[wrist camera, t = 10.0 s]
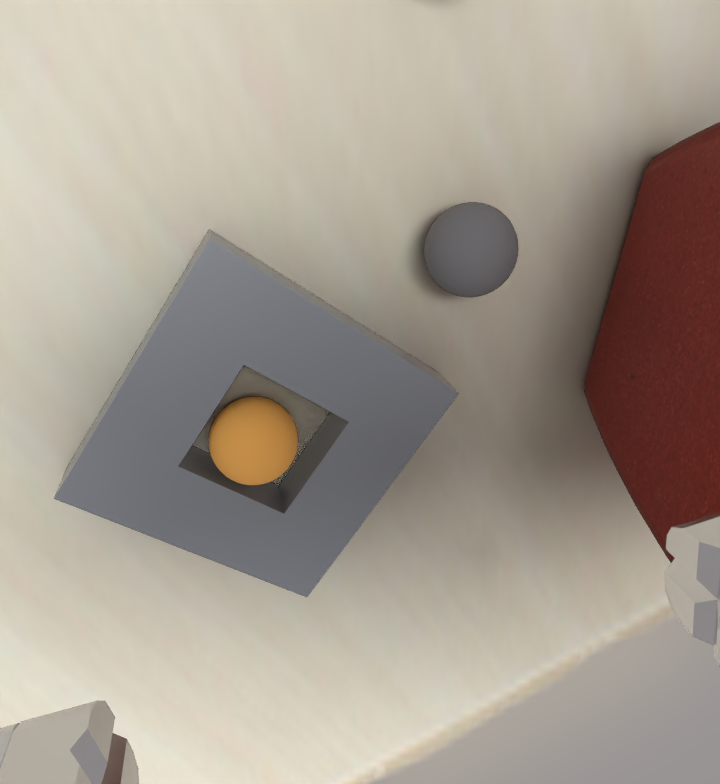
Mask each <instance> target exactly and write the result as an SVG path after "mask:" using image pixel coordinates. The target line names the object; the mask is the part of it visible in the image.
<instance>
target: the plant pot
mask: <svg viewBox="0 0 720 784" xmlns="http://www.w3.org/2000/svg"><path fill="white" fill-rule="evenodd" d="M584 392H585V395H586V398H587V401H588V404H589V407H590V410H591V413H592V415H593V418H594V420H595V422H596V425H597V427H598V430H599V432H600V434H601V437H602V439H603V442H604V444H605V446H606V448H607V450H608V452H609V455H610V457H611V459H612V461H613V463H614V465H615V467H616V469H617V471H618V473H619V475H620V477H621V479H622V481H623V483H624V485H625V486H626V488H627V490H628V492H629V494H630V496H631V498H632V499H633V501H634V503H635V505H636V507H637V509H638V510H639V512H640V514H641V515H642V517H643V519H644V520H645V522H646V523H647V525H648V527H649V528H650V530H651V532H652V533H653V535H654V537H655V538H656V540H657V542H658V543H659V545H660V546H661V548H662V550H663V551H664V553H665V555H666V556H667V558H668V559H669V561H670V562H671V563H672V561H673V560H674V559H675V558H674V557H673V556H672V555H671V554H670V553H669V552H668V551H667V550H666V540H667V534H668V532H669V531H670V529H671V527H673V526H676V525H680V524H683V523H686V522H689V521H692V520H696V519H699V518H702V517H705V516H708V515H712V514H715V513H718V512H720V122H719V123H717V124H714V125H712V126H710V127H708V128H706V129H704V130H702V131H700V132H698V133H696V134H694V135H692V136H690V137H688V138H686V139H684V140H682V141H680V142H679V143H677V144H675V145H673V146H672V147H670V148H668V149H667V150H665V151H663V152H662V153H660V154H658V155H657V156H656V157H654V158H653V160H652V161H651V162H650V164H649V165H648V166H647V168H646V171H645V173H644V176H643V179H642V183H641V186H640V190H639V194H638V198H637V201H636V205H635V209H634V212H633V215H632V219H631V222H630V225H629V229H628V233H627V236H626V240H625V243H624V247H623V251H622V254H621V258H620V261H619V265H618V268H617V272H616V275H615V279H614V282H613V286H612V289H611V293H610V296H609V300H608V303H607V307H606V310H605V314H604V317H603V321H602V324H601V328H600V331H599V335H598V338H597V342H596V346H595V349H594V352H593V356H592V359H591V363H590V366H589V370H588V374H587V377H586V381H585V388H584Z"/></svg>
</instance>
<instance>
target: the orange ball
mask: <svg viewBox="0 0 720 784" xmlns="http://www.w3.org/2000/svg"><path fill="white" fill-rule="evenodd" d="M297 448H298V432H297V428H296V425H295V423H294V420H293V418H292V417H291V415H290V414H289V413H288V412H287V410H286V409H284V408H283V407H282V406H281V405H280V404H278V403H277V402H275V401H273V400H270V399H267V398H264V397H255V396H254V397H245V398H241V399H238V400H236V401H233V402H231V403H230V404H228V405H227V406H226V407H224V408H223V409H222V410H221V411H220V412H219V414H218V415H217V416H216V418H215V419H214V421H213V423H212V426H211V429H210V433H209V450H210V454H211V457H212V459H213V462H214V463H215V465H216V466H217V468H218V469H219V470H220V471H221V472H222V473H223V474H224V475H225V476H226V477H228V478H229V479H231V480H233V481H235V482H237V483H241V484H245V485H260V484H265V483H268V482H271V481H273V480H275V479H277V478H278V477H280V476H281V475H282V474H283V473H284V472H285V471H286V470H287V469H288V468H289V467H290V465H291V464H292V462H293V460H294V458H295V456H296V453H297Z"/></svg>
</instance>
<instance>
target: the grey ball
mask: <svg viewBox="0 0 720 784" xmlns="http://www.w3.org/2000/svg"><path fill="white" fill-rule="evenodd" d="M424 256H425V263H426V266H427V269H428V271H429V273H430V275H431V277H432V278H433V280H434V281H435V282H436V283H437V284H438V285H439V286H440V287H441V288H443V289H444V290H446V291H447V292H449V293H451V294H454V295H457V296H461V297H477V296H482V295H485V294H488V293H490V292H492V291H494V290H495V289H497V288H498V287H499V286H501V285H502V284H503V283H504V282H505V281H506V280H507V279H508V277H509V276H510V274H511V273H512V271H513V269H514V267H515V264H516V261H517V257H518V239H517V235H516V232H515V230H514V227H513V225H512V224H511V222H510V221H509V219H508V218H507V217H506V216H505V215H504V214H503V213H502V212H501V211H499V210H498V209H496V208H494V207H492V206H490V205H487V204H484V203H477V202H468V203H463V204H459V205H456V206H454V207H451V208H450V209H448V210H446V211H445V212H444V213H442V214H441V215H440V216H439V217H438V218H437V219H436V220H435V222H434V223H433V224H432V226H431V228H430V230H429V232H428V234H427V237H426V241H425V248H424Z"/></svg>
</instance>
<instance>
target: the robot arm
mask: <svg viewBox="0 0 720 784" xmlns="http://www.w3.org/2000/svg"><path fill="white" fill-rule="evenodd" d="M666 550H667V551H668V552H669V553H670V554H671V555H672V556H673V557H674V558H675V559H674V560H673V561H672V563H671V564H670V566H669V567H668V569H667V570H666V572H665V591H666V594H667V597H668V600H669V603H670V605H671V608H672V610H673V612H674V613H675V615H676V616H677V618H678V620H679V621H680V623H681V624H682V625H683V626H684V627H685V628H686V630H687V631H688V632H689V633H690V634H691V635H692V636H693V637H695V638H698V639H700V640H702V641H705V642H707V643H710V644H712V645H714V654H715V662H716V663H717V664H718V665H719V666H720V512H718V513H715V514H712V515H708V516H705V517H702V518H699V519H696V520H692V521H689V522H686V523H683V524H680V525H676V526H673V527H671V529H670V531H669V532H668V534H667V540H666ZM114 720H115V716H114V714H113V713H112V711H111V710H110V708H109V706H108V705H107V703H106V701H94V702H91V703H87V704H83V705H80V706H76V707H72V708H69V709H65V710H61V711H58V712H54V713H51V714H47V715H43V716H40V717H36V718H32V719H29V720H25V721H21V723H17V724H13V725H10V726H6V727H2V728H0V784H139V776H138V766H137V763H136V759H135V756H134V752H133V750H132V748H131V746H130V744H129V742H128V740H127V739H126V738H123V737H121V736H119V735H116V734H114V733H113V726H114Z"/></svg>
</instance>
